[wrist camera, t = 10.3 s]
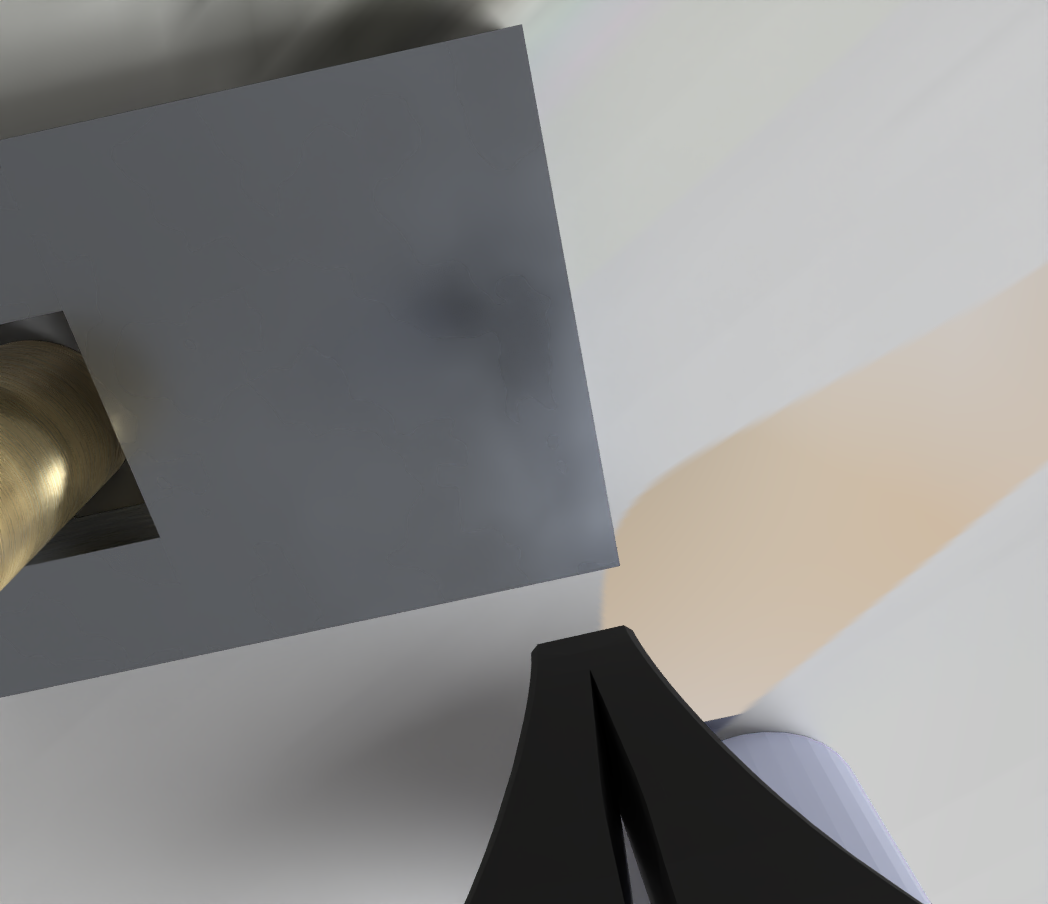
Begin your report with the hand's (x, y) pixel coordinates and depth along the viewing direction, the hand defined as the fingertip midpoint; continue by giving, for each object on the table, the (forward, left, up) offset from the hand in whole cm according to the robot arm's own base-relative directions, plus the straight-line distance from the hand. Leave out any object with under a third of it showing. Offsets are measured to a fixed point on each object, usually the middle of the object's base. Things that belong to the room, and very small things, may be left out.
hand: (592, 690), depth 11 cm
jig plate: (+3, +8, -10) cm, 13 cm away
